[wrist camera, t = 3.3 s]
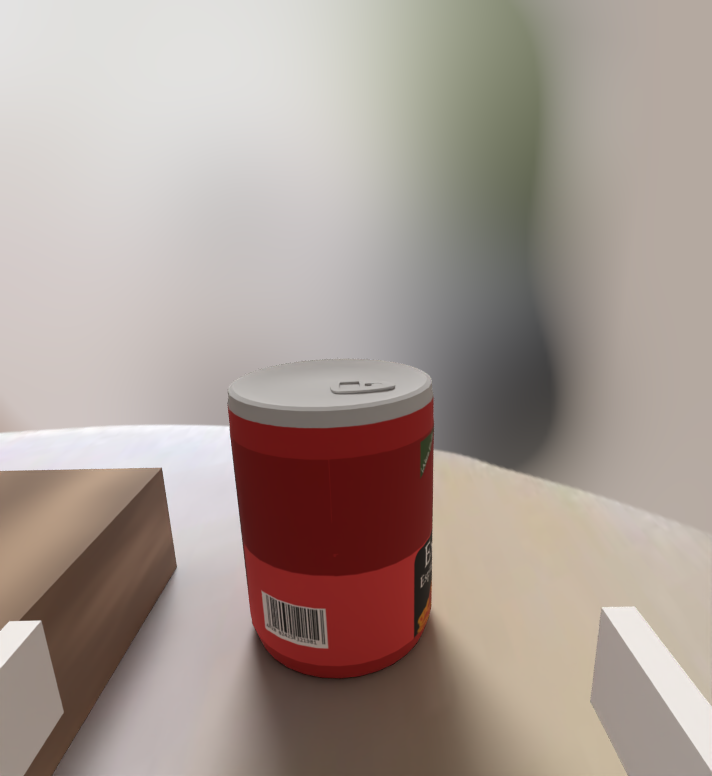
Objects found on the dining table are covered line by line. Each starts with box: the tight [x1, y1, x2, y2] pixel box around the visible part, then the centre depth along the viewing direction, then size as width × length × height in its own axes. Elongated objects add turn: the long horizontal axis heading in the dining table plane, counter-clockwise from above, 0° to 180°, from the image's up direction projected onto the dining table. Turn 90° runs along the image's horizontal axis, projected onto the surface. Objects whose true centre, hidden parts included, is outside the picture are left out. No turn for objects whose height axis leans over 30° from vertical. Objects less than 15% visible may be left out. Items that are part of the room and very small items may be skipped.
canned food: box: [228, 359, 434, 678], centre depth 21 cm, size 8×8×11 cm
